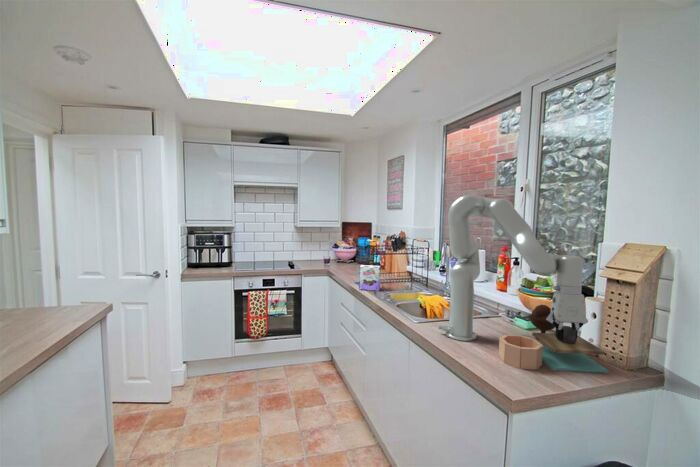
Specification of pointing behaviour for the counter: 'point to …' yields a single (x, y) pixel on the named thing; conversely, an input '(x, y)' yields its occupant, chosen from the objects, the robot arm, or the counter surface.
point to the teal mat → (570, 361)
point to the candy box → (369, 277)
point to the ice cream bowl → (541, 318)
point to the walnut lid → (568, 342)
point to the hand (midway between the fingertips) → (566, 339)
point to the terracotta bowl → (520, 351)
